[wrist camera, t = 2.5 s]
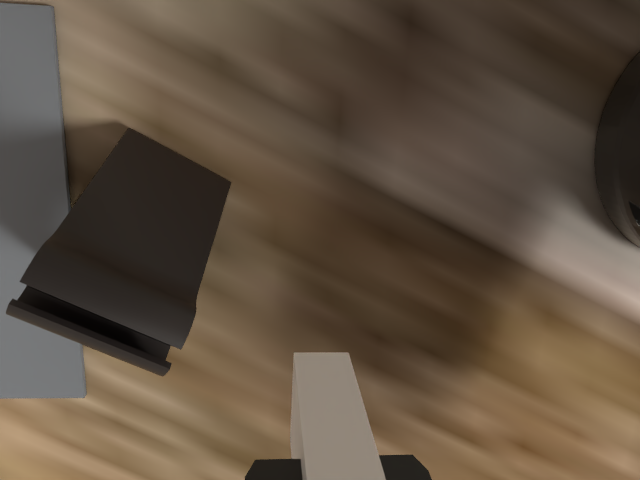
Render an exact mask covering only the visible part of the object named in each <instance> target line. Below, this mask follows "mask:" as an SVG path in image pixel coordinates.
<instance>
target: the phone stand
mask: <svg viewBox="0 0 640 480" xmlns="http://www.w3.org/2000/svg"><path fill="white" fill-rule="evenodd" d="M230 185H231V182H230V181H228V180H226V179H224V178H222V177H220V176H219V175H217V174H215V173H213V172H211V171H209V170H207V169H205V168H204V167H202V166H200V165H198V164H196V163H194V162H192V161H190V160H189V159H187V158H185V157H183V156H181V155H179V154H177V153H176V152H174V151H172V150H170V149H168V148H166V147H164V146H162V145H161V144H159V143H157V142H155V141H153V140H151V139H149V138H147V137H146V136H144V135H142V134H140V133H138V132H136V131H134V130H132V129H131V128H128V129H127V131H126V132H125V134H124V135H123V137H122V138H121V139H120V141H119V142H118V144H117V145H116V146H115V148H114V149H113V151H112V152H111V154H110V155H109V156H108V158H107V159H106V161H105V162H104V164H103V165H102V166H101V168H100V169H99V171H98V172H97V173H96V175H95V176H94V178H93V179H92V181H91V182H90V183H89V185H88V186H87V188H86V189H85V190H84V192H83V193H82V195H81V196H80V198H79V199H78V200H77V202H76V203H75V205H74V206H73V208H72V209H71V210H70V212H69V213H68V215H67V216H66V217H65V219H64V220H63V222H62V223H61V225H60V226H59V227H58V229H57V230H56V231H55V232H54V234H53V235H52V236H51V237H50V238H49V239H48V240H46V241H45V243H44V244H43V245H42V246H41V248H40V249H39V250H38V252H37V253H36V255H35V256H34V258H33V259H32V261H31V263H30V264H29V266H28V268H27V269H26V271H25V273H24V274H23V276H22V278H21V280H20V282H21V283H23V284H26V285H27V286H26V288H25V289H24V291H23V292H22V294H21V295H20V297H19V298H18V300H15V299H13V298H12V300H11V301H10V303H9V304H8V307H7V310H6V314H7V315H9V316H12V317H14V318H17V319H19V320H22V321H24V322H27V323H30V324H32V325H35V326H37V327H40V328H42V329H45V330H47V331H50V332H52V333H55V334H57V335H60V336H62V337H65V338H67V339H70V340H72V341H75V342H77V343H80V344H82V345H85V346H87V347H90V348H92V349H95V350H97V351H100V352H102V353H105V354H107V355H110V356H112V357H115V358H117V359H120V360H122V361H125V362H127V363H130V364H132V365H135V366H137V367H140V368H142V369H145V370H147V371H150V372H153V373H155V374H158V375H160V376H164V375H165V374H166V373H167V372H168V371H169V369H170V367H171V363H170V362H167V361H165V360H166V357H167V354H168V351H169V349H170V346H174V347H176V348H178V349H182V347H183V345H184V343H185V341H186V338H187V336H188V334H189V331H190V329H191V326H192V323H193V320H194V317H195V313H196V299H197V294H198V290H199V287H200V283H201V280H202V277H203V273H204V270H205V267H206V264H207V260H208V257H209V254H210V250H211V247H212V244H213V241H214V237H215V234H216V231H217V228H218V224H219V221H220V218H221V214H222V211H223V208H224V205H225V201H226V198H227V195H228V191H229V188H230Z"/></svg>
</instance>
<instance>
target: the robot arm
mask: <svg viewBox="0 0 640 480" xmlns="http://www.w3.org/2000/svg"><path fill="white" fill-rule="evenodd" d="M595 173H596V181H597V186H598V190H599V194H600V197H601V200H602V202H603V205H604V207H605V209H606V211H607V213H608V215H609V217H610V218H611V220H612V222H613V223H614V224H615V226H616V227H617V228H618V229H619V230H620V231H621V233H622V234H623V235H624V236H625V237H627V238H628V239H629V240H630V241H631V242H633V243H634V244H635V245H637V246H639V247H640V52H639V53H638V54H637V55H636V56H635V58H634V59H633V60H632V61H631V63H630V64H629V65H628V67H627V68H626V69H625V71H624V72H623V74H622V75H621V77H620V79H619V80H618V82H617V84H616V85H615V87H614V89H613V91H612V93H611V95H610V97H609V99H608V102H607V104H606V107H605V109H604V112H603V115H602V118H601V121H600V125H599V129H598V134H597V140H596V148H595ZM290 442H291V456H292V459H269V460H255V461H254V463H253V465H252V466H251V468H250V470H249V471H248V473H247V475H246V476H245V480H432V479H431V477H430V474H429V472H428V470H427V469H426V468H425V467H424V466H423V465H422V464H421V463H420V462H419V461H418V460H417V459H416V458H415V457H414V456H413V455H379V454H378V451H377V448H376V444H375V441H374V437H373V434H372V431H371V427H370V424H369V420H368V417H367V414H366V410H365V407H364V403H363V400H362V397H361V393H360V390H359V386H358V383H357V380H356V376H355V373H354V369H353V366H352V363H351V359H350V356H349V352H307V353H294V358H293V382H292V407H291V431H290Z"/></svg>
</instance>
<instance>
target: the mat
mask: <svg viewBox="0 0 640 480" xmlns="http://www.w3.org/2000/svg"><path fill="white" fill-rule="evenodd" d="M70 210H71V205H70V193H69V182H68V170H67V158H66V146H65V134H64V123H63V111H62V99H61V87H60V76H59V64H58V52H57V40H56V28H55V17H54V7H53V6H44V5H28V4H11V3H0V398H85V396H86V382H85V370H84V358H83V347H82V344H80V343H77V342H75V341H72V340H70V339H67V338H65V337H62V336H60V335H57V334H55V333H52V332H50V331H47V330H45V329H42V328H40V327H37V326H35V325H32V324H30V323H27V322H24V321H22V320H19V319H17V318H14V317H12V316H9V315H7V314H6V310H7V307H8V304H9V303H10V301H11V300H12V298H13V299H15V300H18V298H19V297H20V295H21V294H22V292H23V291H24V289H25V288H26V286H27V285H26V284H23V283H21V282H20V280H21V278H22V276H23V274H24V273H25V271H26V269H27V268H28V266H29V264H30V263H31V261H32V259H33V258H34V256H35V255H36V253H37V252H38V250H39V249H40V248H41V246H42V245H43V244H44V243H45V241H46V240H48V239H49V238H50V237H51V236H52V235H53V234H54V232H55V231H56V230H57V229H58V227H59V226H60V225H61V223H62V222H63V220H64V219H65V217H66V216H67V215H68V213H69V212H70Z"/></svg>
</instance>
